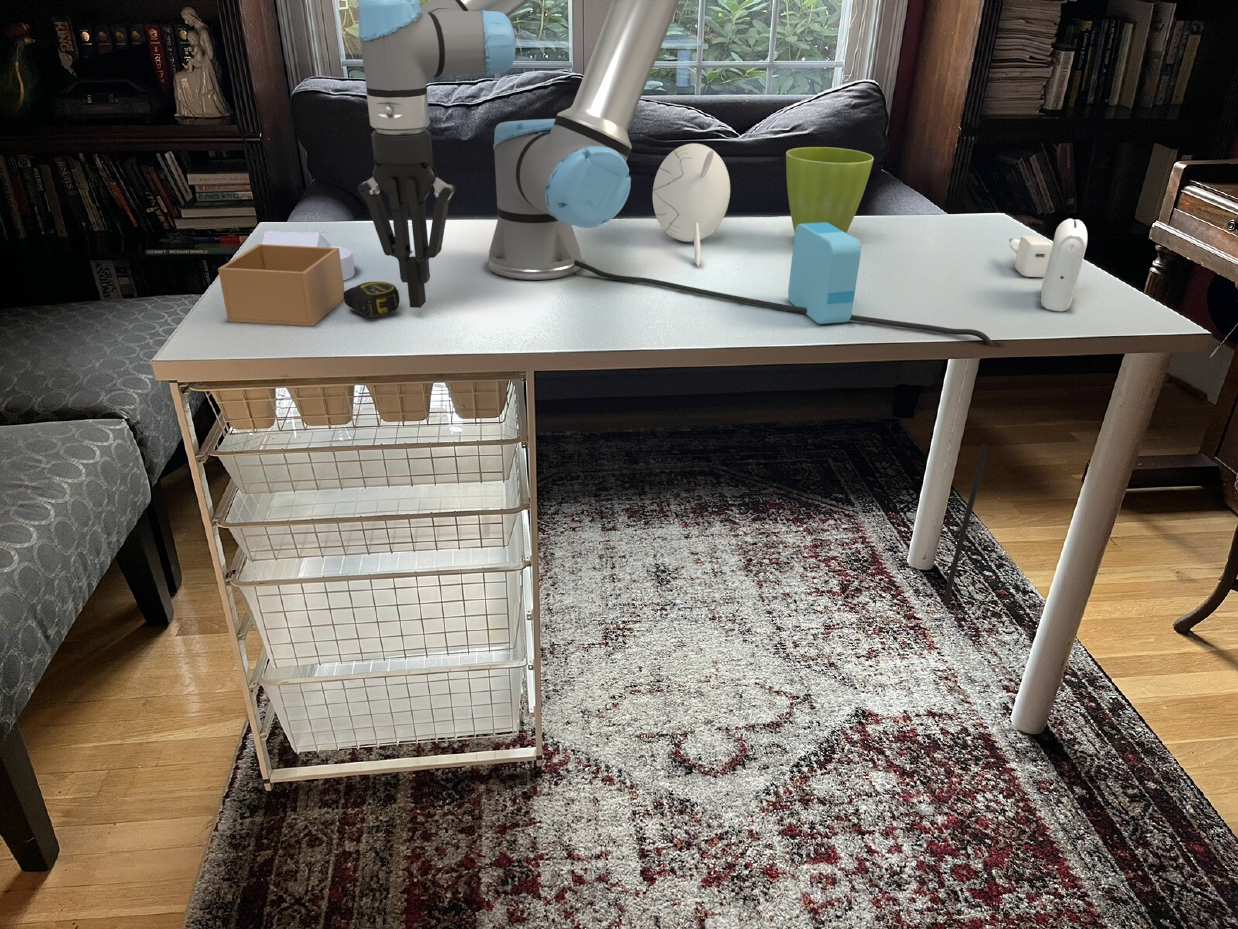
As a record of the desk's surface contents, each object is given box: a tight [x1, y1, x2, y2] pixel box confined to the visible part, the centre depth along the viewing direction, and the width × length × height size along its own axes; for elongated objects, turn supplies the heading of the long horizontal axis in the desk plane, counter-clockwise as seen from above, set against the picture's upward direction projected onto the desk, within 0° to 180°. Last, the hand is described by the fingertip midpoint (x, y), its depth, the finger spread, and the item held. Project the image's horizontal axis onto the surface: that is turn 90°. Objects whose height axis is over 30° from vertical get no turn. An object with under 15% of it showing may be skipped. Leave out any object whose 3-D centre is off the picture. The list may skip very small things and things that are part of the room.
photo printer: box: [1040, 218, 1088, 312], centre depth 139 cm, size 10×4×12 cm, turn 158°
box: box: [217, 243, 346, 327], centre depth 130 cm, size 12×12×8 cm
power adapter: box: [1008, 234, 1053, 278], centre depth 155 cm, size 11×5×6 cm, turn 176°
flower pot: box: [785, 146, 875, 234], centre depth 162 cm, size 15×15×16 cm
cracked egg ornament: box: [652, 143, 731, 268], centre depth 161 cm, size 19×14×25 cm
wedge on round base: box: [261, 230, 356, 281], centre depth 145 cm, size 9×7×13 cm
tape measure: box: [343, 281, 401, 319], centre depth 130 cm, size 7×7×4 cm
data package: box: [787, 222, 862, 325], centre depth 132 cm, size 12×4×12 cm, turn 15°
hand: (418, 304), depth 130 cm, fingers closed
